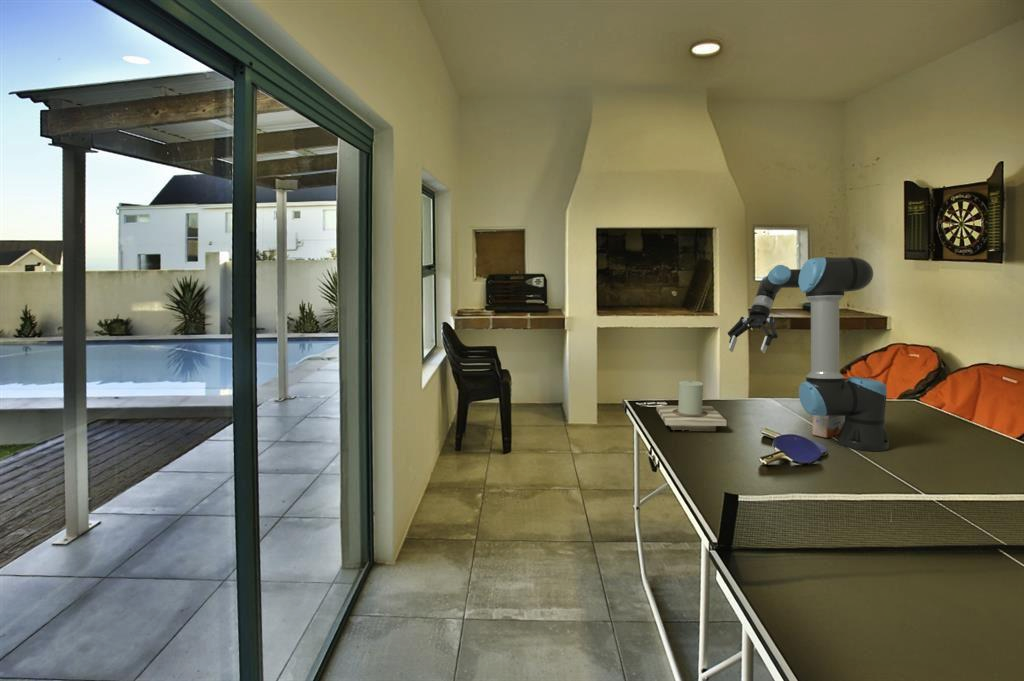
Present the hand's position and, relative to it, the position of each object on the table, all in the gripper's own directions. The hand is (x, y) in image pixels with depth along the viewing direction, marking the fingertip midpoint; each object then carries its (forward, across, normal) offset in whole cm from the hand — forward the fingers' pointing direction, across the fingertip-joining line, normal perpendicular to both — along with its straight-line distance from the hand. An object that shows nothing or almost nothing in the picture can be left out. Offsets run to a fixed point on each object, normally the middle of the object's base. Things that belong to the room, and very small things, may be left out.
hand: (746, 350), depth 233 cm
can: (+34, +10, +7) cm, 36 cm away
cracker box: (+24, -32, -18) cm, 43 cm away
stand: (+38, +10, +4) cm, 40 cm away
